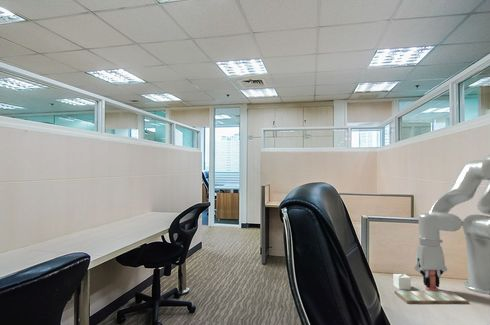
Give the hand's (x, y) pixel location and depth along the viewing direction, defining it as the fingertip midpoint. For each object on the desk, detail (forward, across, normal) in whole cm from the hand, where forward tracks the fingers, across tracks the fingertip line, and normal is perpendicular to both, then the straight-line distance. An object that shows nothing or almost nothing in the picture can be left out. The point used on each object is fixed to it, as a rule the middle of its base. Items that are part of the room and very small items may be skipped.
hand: (431, 285), depth 126 cm
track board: (+2, +6, +9) cm, 11 cm away
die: (+2, +11, -3) cm, 12 cm away
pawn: (+2, 0, 0) cm, 2 cm away
